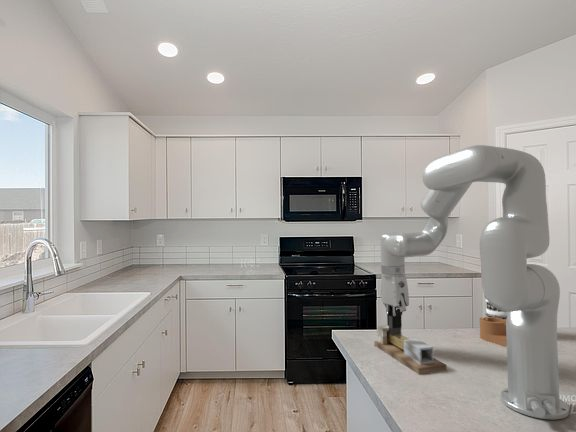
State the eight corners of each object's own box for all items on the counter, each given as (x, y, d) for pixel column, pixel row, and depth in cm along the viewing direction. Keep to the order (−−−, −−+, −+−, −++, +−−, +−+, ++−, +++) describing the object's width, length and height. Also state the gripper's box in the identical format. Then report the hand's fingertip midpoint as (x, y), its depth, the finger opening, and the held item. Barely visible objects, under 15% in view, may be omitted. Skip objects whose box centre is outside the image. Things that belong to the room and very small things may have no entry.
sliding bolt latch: (446, 370, 99) (445, 346, 100) (418, 374, 97) (418, 349, 97) (397, 342, 123) (397, 323, 123) (374, 345, 121) (374, 325, 121)
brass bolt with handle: (420, 353, 106) (419, 324, 106) (411, 355, 105) (411, 325, 105) (393, 338, 120) (392, 312, 121) (385, 339, 120) (384, 313, 120)
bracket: (475, 338, 127) (474, 318, 127) (489, 334, 131) (489, 315, 131) (527, 354, 111) (526, 331, 111) (543, 349, 114) (542, 328, 115)
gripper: (417, 273, 111) (419, 332, 110) (390, 267, 126) (391, 319, 125) (396, 274, 109) (397, 334, 108) (371, 268, 124) (372, 321, 123)
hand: (394, 326), depth 117 cm, fingers closed on brass bolt with handle, 2 cm apart
